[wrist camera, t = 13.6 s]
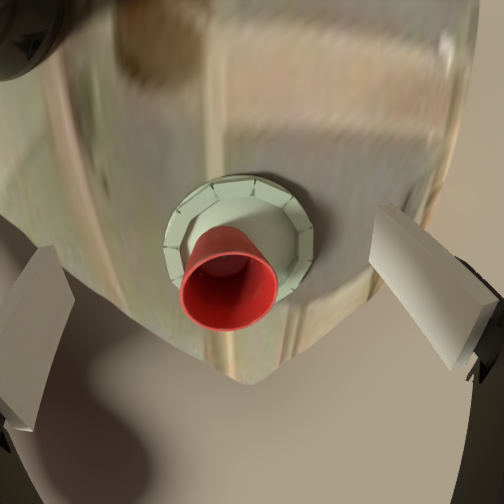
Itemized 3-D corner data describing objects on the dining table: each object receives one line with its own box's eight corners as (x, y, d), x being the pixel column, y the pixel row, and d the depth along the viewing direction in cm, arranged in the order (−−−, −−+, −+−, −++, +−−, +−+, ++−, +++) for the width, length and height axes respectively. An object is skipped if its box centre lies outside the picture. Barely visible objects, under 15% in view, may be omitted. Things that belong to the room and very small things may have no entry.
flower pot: (275, 265, 45) (292, 308, 37) (205, 296, 46) (208, 344, 38) (244, 200, 40) (257, 234, 32) (167, 237, 41) (159, 280, 33)
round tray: (180, 312, 48) (179, 322, 46) (151, 186, 38) (149, 191, 36) (308, 294, 50) (312, 302, 48) (310, 167, 40) (315, 172, 38)
